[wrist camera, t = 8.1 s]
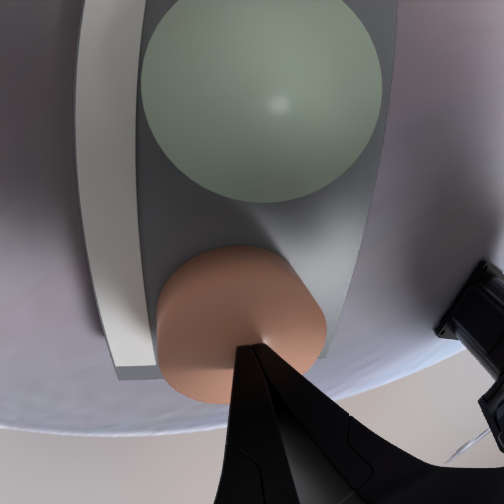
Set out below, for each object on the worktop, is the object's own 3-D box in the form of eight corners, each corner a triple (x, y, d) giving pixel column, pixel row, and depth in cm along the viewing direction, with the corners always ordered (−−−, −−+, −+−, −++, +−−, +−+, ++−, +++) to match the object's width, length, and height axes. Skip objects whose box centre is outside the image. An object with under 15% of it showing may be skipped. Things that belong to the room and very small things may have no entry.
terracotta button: (314, 242, 10) (345, 276, 8) (289, 353, 12) (307, 390, 10) (149, 249, 8) (147, 290, 7) (164, 366, 11) (167, 410, 9)
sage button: (345, 18, 6) (389, 6, 5) (325, 180, 9) (363, 205, 7) (158, -9, 5) (156, -40, 3) (146, 178, 7) (140, 205, 6)
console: (363, -98, 5) (391, -114, 3) (309, 329, 15) (326, 359, 13) (143, -134, 3) (143, -162, 1) (120, 346, 12) (118, 382, 11)
